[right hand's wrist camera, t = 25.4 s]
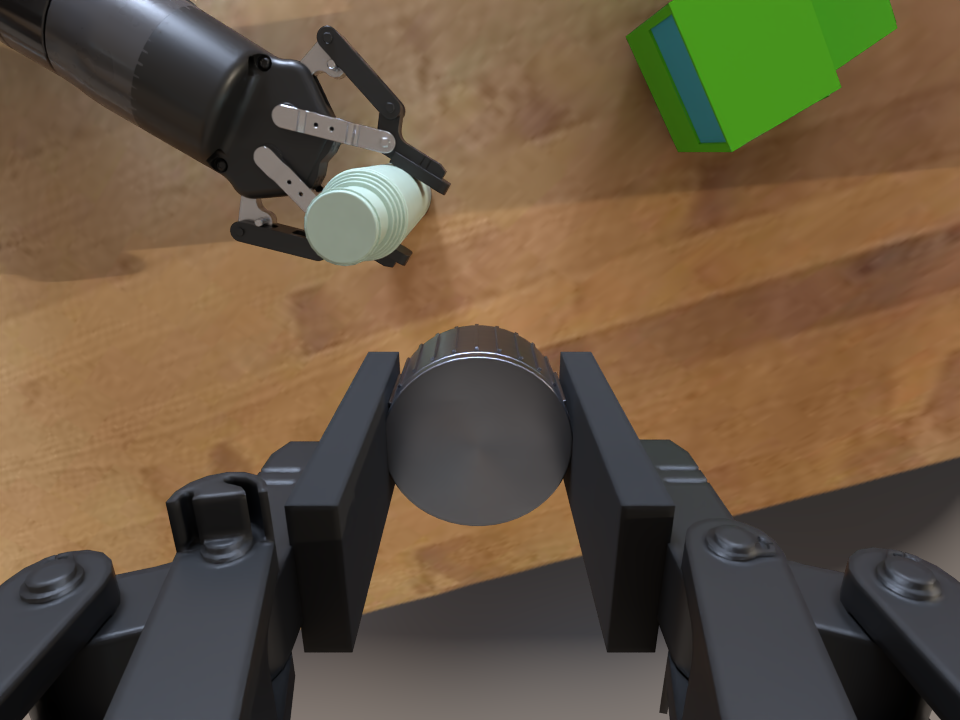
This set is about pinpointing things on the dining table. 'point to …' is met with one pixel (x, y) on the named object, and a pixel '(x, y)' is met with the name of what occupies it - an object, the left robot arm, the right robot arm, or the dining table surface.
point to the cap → (478, 427)
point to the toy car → (748, 62)
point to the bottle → (365, 214)
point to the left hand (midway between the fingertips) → (426, 223)
